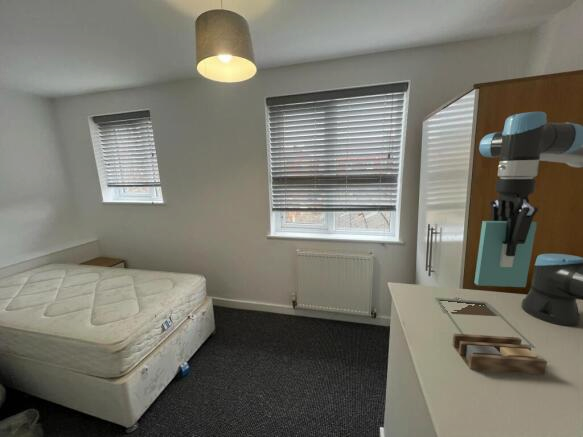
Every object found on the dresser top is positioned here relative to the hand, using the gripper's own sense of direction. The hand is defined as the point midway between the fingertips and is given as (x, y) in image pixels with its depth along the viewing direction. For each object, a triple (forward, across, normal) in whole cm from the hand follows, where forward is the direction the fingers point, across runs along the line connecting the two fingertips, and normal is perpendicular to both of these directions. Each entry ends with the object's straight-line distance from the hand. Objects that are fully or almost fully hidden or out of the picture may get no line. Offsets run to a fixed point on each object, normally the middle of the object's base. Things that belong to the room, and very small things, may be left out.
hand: (502, 264), depth 67 cm
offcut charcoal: (+27, +4, -4) cm, 28 cm away
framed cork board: (+29, -19, +7) cm, 36 cm away
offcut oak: (+27, +4, +4) cm, 28 cm away
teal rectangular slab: (+6, 0, 0) cm, 6 cm away
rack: (+28, +3, 0) cm, 28 cm away
